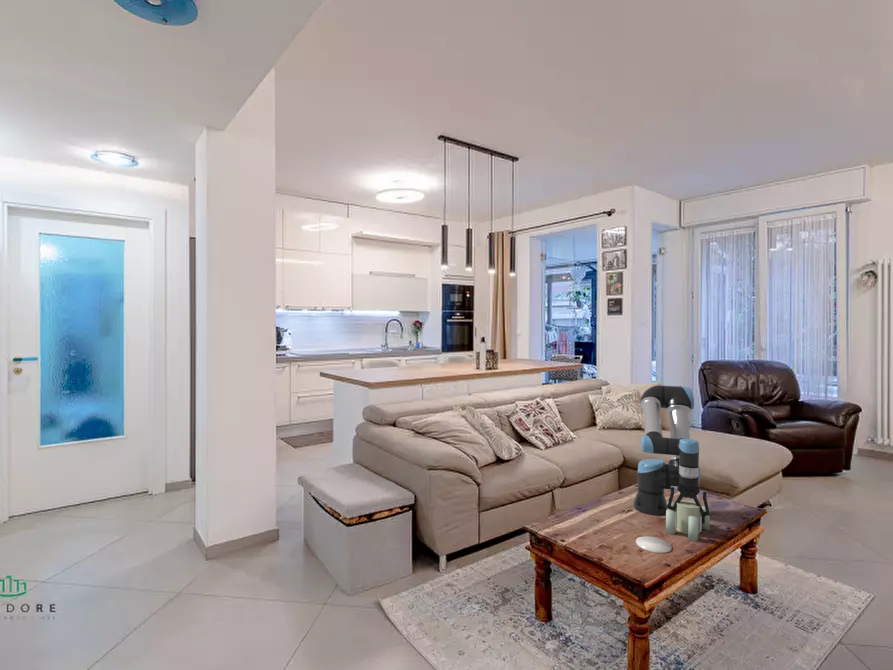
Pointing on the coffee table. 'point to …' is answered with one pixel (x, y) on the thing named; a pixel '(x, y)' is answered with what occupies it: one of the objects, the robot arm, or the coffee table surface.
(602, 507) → the coffee table surface
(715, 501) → the coffee table surface
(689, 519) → the posts
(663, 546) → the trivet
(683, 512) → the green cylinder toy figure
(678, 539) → the coffee table surface
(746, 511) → the coffee table surface
